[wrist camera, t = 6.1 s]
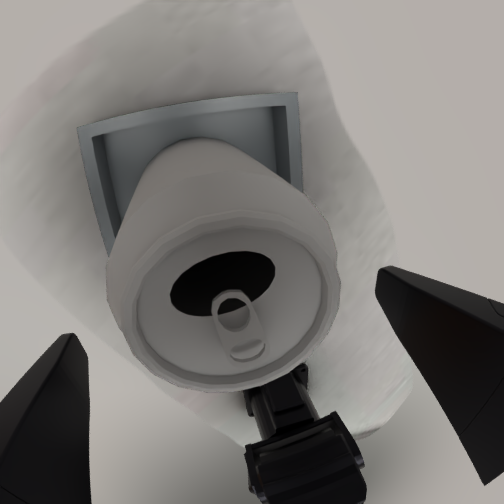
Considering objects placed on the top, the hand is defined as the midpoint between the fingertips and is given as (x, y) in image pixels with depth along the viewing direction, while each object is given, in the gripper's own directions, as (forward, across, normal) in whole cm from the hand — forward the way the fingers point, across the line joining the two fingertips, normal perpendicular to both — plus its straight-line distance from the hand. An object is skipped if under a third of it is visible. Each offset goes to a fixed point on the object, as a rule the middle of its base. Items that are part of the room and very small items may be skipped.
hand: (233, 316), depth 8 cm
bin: (+12, 0, 0) cm, 12 cm away
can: (+12, 0, 0) cm, 12 cm away
